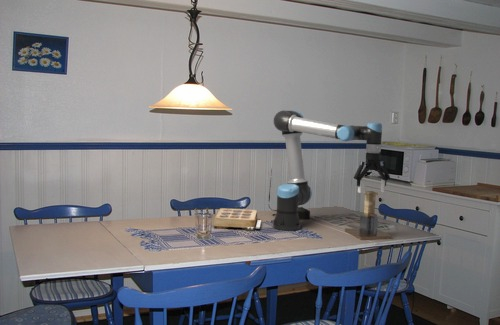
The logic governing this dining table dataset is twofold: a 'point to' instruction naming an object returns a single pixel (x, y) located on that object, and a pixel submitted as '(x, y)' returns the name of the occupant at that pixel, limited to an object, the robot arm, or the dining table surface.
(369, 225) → the stand
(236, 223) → the beige slotted box
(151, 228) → the dining table surface
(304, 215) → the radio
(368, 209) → the column
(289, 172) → the robot arm
